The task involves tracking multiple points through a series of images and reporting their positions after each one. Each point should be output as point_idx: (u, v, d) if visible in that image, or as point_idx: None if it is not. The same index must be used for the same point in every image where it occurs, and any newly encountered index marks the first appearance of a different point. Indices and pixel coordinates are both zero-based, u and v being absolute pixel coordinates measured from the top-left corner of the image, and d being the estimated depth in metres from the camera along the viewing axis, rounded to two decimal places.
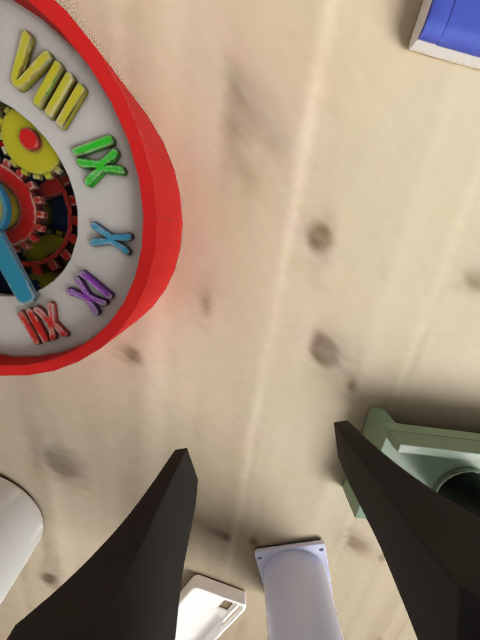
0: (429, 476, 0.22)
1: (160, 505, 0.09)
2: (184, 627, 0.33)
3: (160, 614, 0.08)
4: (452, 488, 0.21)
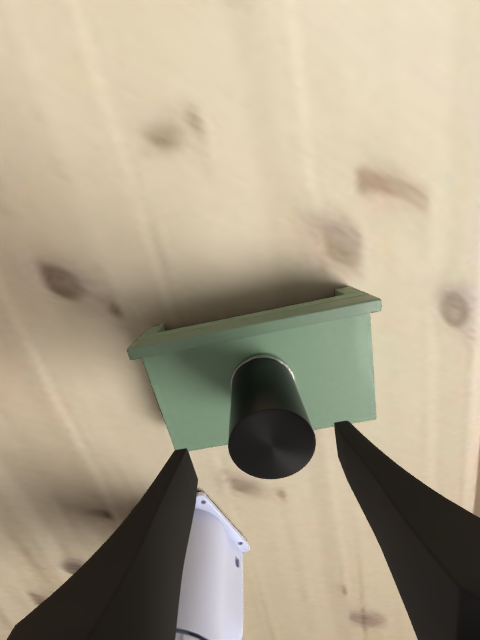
0: (219, 380, 0.18)
1: (160, 505, 0.09)
2: None
3: (160, 614, 0.08)
4: (232, 384, 0.17)
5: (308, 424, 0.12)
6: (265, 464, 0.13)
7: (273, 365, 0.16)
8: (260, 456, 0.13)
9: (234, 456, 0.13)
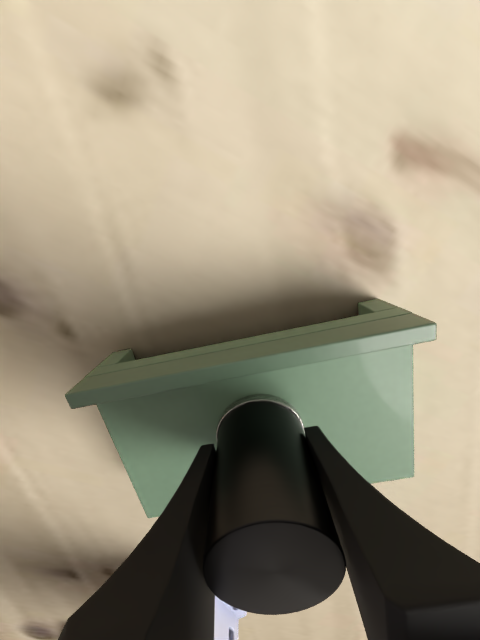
0: (202, 429, 0.13)
1: (195, 500, 0.09)
2: None
3: (201, 609, 0.08)
4: (217, 439, 0.12)
5: (335, 542, 0.07)
6: (263, 596, 0.08)
7: (275, 415, 0.11)
8: (255, 585, 0.08)
9: (213, 585, 0.08)
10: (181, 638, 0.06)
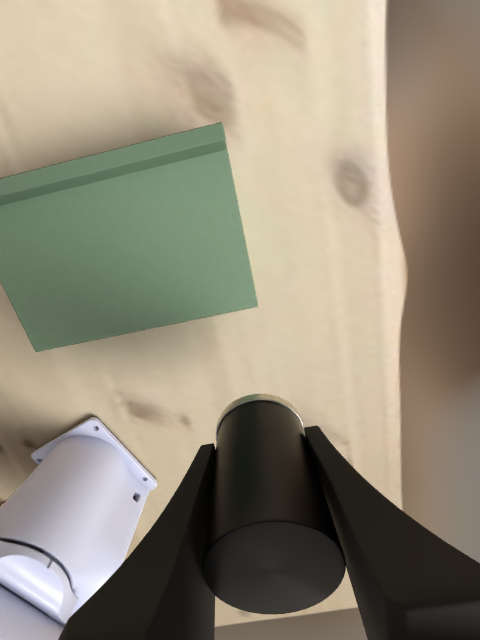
0: (67, 254, 0.16)
1: (195, 500, 0.09)
2: None
3: (201, 609, 0.08)
4: (217, 438, 0.12)
5: (334, 541, 0.07)
6: (263, 596, 0.08)
7: (275, 415, 0.11)
8: (255, 585, 0.08)
9: (212, 585, 0.08)
10: (181, 638, 0.06)
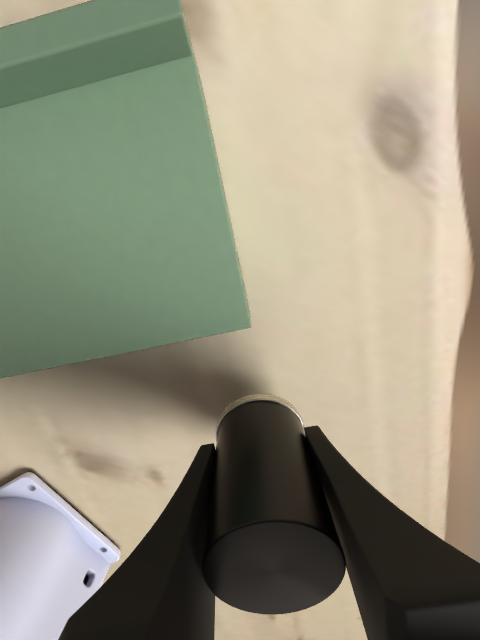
0: None
1: (195, 499, 0.09)
2: None
3: (201, 609, 0.08)
4: (217, 438, 0.12)
5: (335, 541, 0.07)
6: (263, 596, 0.08)
7: (275, 415, 0.11)
8: (255, 585, 0.08)
9: (213, 585, 0.08)
10: (181, 638, 0.06)
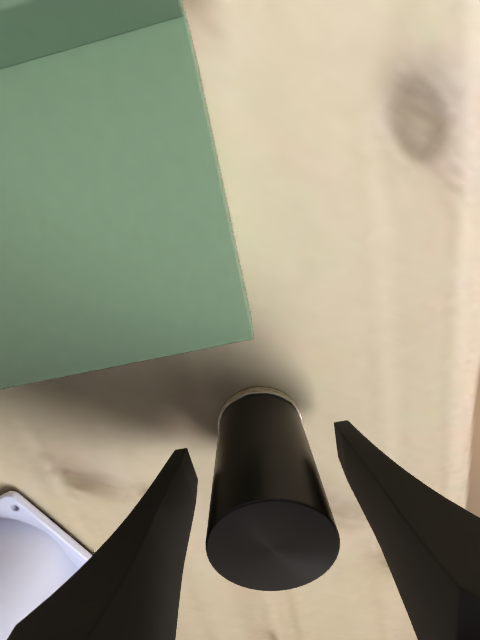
0: None
1: (160, 505, 0.09)
2: None
3: (160, 614, 0.08)
4: (219, 429, 0.13)
5: (329, 520, 0.08)
6: (262, 573, 0.09)
7: (274, 407, 0.12)
8: (255, 562, 0.08)
9: (215, 562, 0.08)
10: None
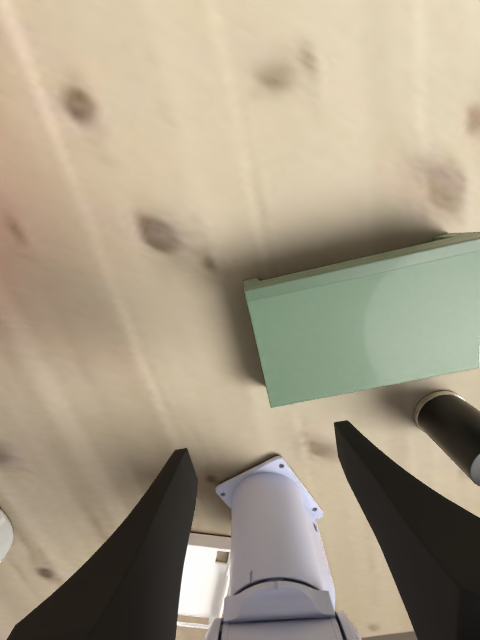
0: (323, 328, 0.18)
1: (160, 505, 0.09)
2: (195, 592, 0.31)
3: (160, 614, 0.08)
4: (425, 415, 0.22)
5: None
6: None
7: (463, 401, 0.22)
8: None
9: (472, 473, 0.18)
10: None
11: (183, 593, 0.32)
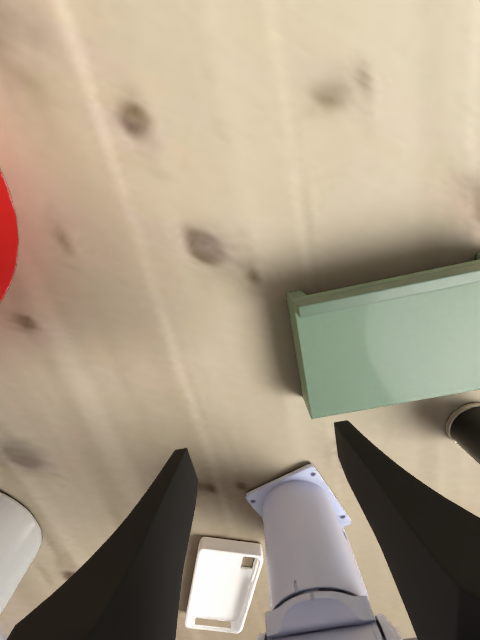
0: (369, 342, 0.18)
1: (160, 505, 0.09)
2: (218, 596, 0.32)
3: (160, 614, 0.08)
4: (459, 426, 0.23)
5: None
6: None
7: None
8: None
9: None
10: None
11: (207, 597, 0.32)
